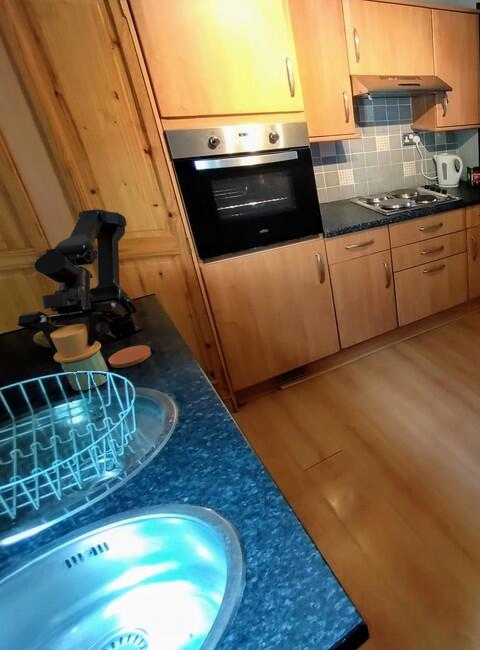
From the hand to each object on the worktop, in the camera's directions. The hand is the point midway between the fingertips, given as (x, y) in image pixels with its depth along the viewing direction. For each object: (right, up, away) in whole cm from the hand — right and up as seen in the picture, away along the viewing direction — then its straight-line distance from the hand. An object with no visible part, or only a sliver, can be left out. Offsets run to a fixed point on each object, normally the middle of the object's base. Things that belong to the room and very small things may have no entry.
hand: (72, 348), depth 109 cm
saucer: (+1, -5, +15) cm, 16 cm away
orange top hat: (-1, -2, +3) cm, 4 cm away
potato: (-22, -3, +19) cm, 29 cm away
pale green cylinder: (-1, -9, +6) cm, 11 cm away
